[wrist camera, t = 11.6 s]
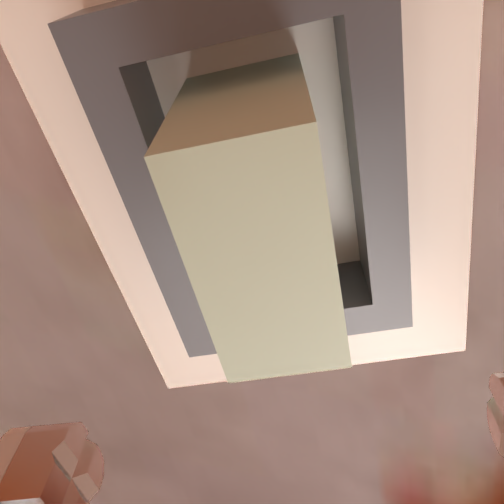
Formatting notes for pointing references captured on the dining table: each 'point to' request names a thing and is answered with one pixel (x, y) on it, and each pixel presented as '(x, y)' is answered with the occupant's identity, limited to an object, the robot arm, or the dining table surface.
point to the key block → (254, 218)
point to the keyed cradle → (330, 137)
